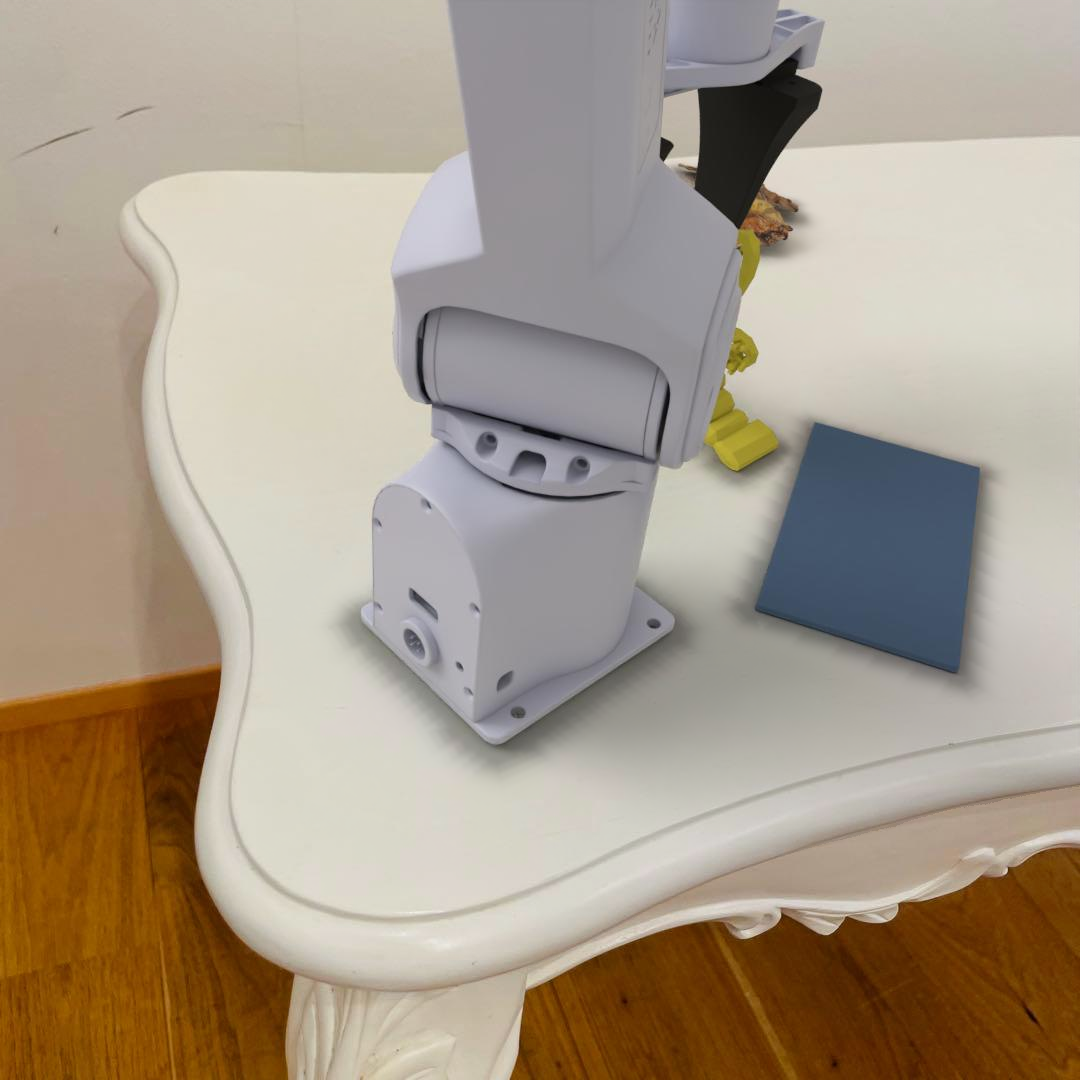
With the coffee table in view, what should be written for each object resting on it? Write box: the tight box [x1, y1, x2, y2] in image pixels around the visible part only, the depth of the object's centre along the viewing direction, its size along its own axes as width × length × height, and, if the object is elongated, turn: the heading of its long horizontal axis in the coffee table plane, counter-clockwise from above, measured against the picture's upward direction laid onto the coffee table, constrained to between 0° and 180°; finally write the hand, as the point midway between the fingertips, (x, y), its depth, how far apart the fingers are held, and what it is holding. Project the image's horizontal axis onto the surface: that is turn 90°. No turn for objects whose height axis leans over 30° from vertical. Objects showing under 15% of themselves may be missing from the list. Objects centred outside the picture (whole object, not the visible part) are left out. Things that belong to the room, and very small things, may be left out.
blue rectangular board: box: [754, 421, 981, 674], centre depth 48 cm, size 14×8×1 cm, turn 160°
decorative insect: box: [704, 229, 780, 472], centre depth 52 cm, size 13×3×10 cm
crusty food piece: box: [677, 162, 799, 249], centre depth 70 cm, size 9×12×3 cm
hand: (658, 253), depth 49 cm, fingers open, 7 cm apart
